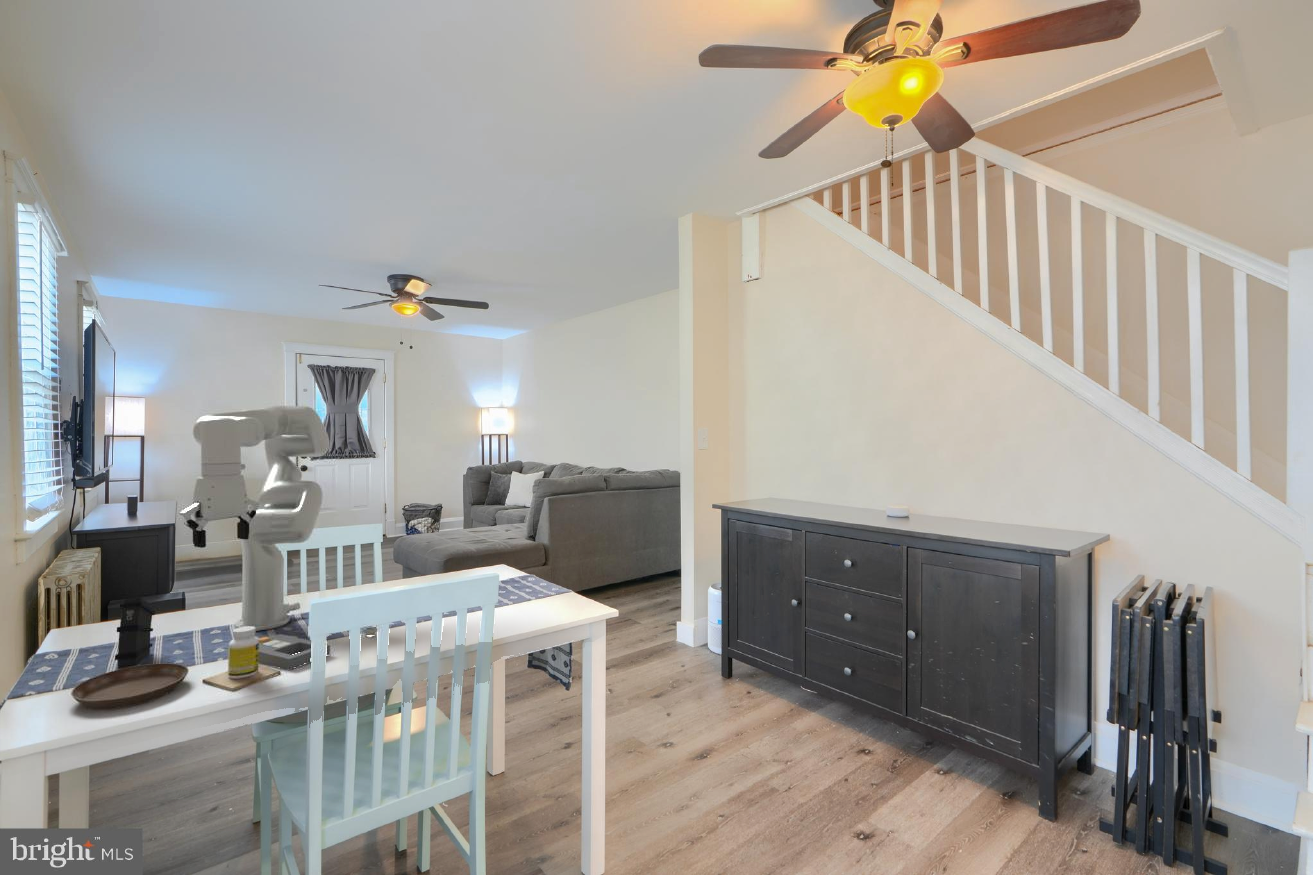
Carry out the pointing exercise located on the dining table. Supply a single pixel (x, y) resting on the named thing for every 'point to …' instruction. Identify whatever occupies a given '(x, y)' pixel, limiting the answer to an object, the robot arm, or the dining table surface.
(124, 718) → the dining table surface
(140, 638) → the magazine
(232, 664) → the supplement bottle
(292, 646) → the grey panel with buttons
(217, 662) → the dining table surface
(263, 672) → the cork mat
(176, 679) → the plant saucer
